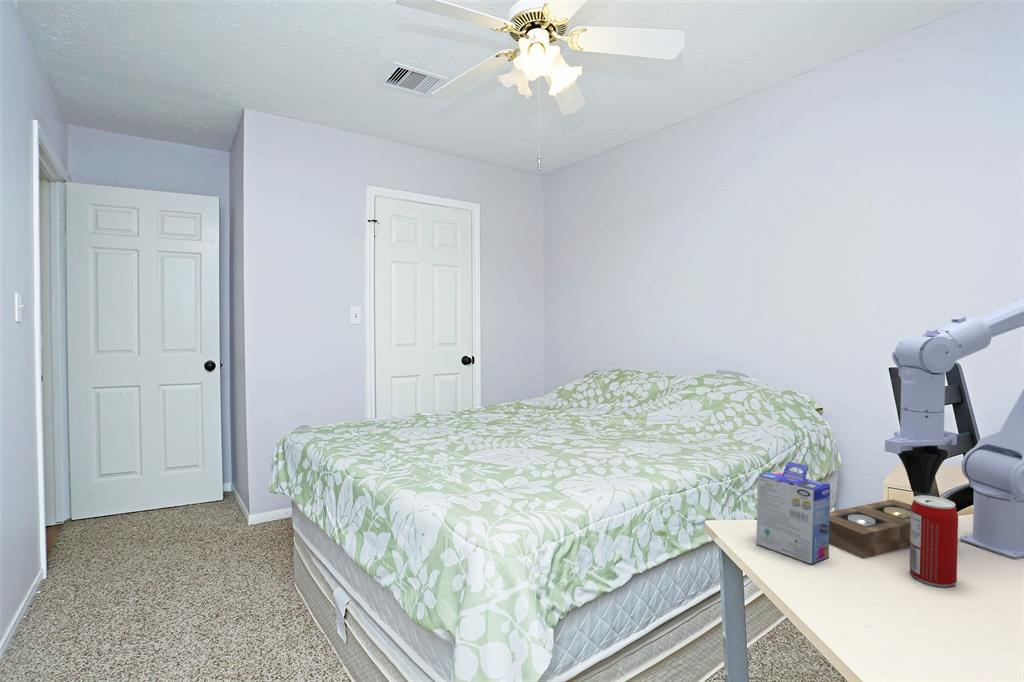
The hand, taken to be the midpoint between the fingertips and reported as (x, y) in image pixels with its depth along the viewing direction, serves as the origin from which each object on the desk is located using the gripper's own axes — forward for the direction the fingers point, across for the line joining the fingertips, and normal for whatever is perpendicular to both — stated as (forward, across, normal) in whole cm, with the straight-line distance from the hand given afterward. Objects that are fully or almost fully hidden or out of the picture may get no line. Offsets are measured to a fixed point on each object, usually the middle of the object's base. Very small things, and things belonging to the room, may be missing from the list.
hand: (920, 491), depth 89 cm
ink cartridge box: (+10, +19, -8) cm, 23 cm away
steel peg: (+9, +5, -6) cm, 13 cm away
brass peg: (+10, -3, -6) cm, 12 cm away
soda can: (+10, +8, +7) cm, 15 cm away
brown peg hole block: (+10, +1, -6) cm, 12 cm away
